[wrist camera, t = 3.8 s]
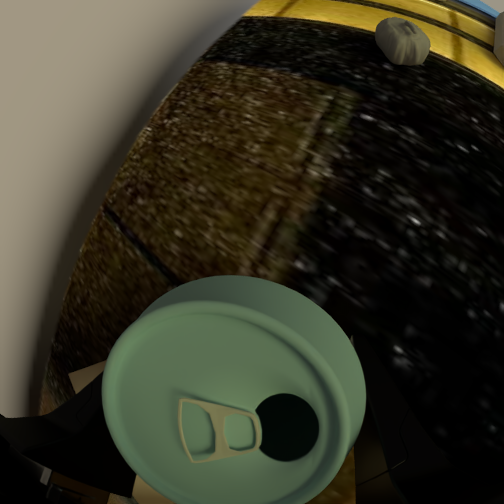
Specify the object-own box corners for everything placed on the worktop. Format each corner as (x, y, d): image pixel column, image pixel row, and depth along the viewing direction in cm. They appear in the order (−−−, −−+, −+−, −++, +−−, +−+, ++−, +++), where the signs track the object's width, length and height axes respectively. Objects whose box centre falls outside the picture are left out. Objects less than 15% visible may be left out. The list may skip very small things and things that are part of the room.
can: (277, 267, 17) (217, 194, 5) (353, 348, 15) (441, 434, 4) (197, 340, 17) (50, 379, 6) (269, 418, 15) (211, 553, 4)
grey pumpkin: (424, 84, 17) (439, 45, 12) (369, 64, 19) (376, 22, 13) (422, 51, 18) (433, 17, 13) (374, 35, 19) (379, -2, 14)
